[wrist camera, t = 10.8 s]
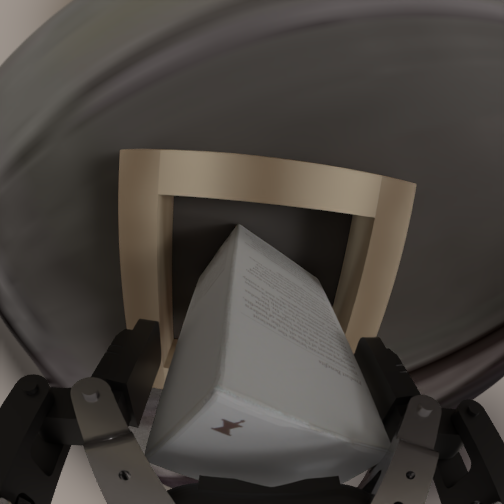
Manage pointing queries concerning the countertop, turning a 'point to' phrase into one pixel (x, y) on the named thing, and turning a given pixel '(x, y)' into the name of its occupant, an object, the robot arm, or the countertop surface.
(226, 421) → the skincare box
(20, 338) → the countertop surface
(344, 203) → the birch stand
